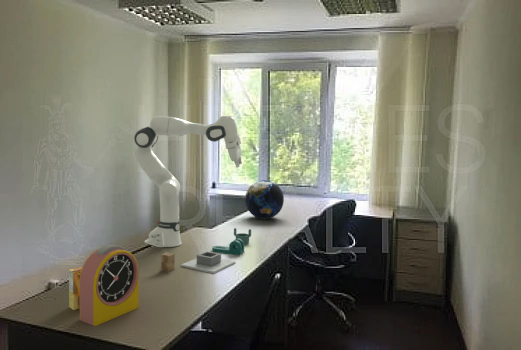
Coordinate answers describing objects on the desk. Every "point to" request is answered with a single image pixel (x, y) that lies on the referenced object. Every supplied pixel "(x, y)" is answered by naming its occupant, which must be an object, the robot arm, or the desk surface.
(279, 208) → the globe
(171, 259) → the walnut block
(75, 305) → the candy box
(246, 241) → the bracket
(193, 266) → the well
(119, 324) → the desk surface
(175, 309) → the desk surface
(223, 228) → the desk surface
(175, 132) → the robot arm
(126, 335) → the desk surface
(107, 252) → the alarm clock
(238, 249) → the bracket
